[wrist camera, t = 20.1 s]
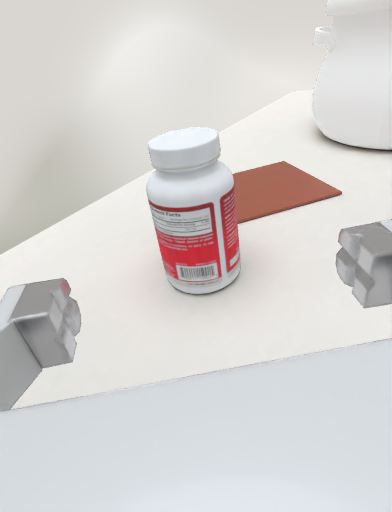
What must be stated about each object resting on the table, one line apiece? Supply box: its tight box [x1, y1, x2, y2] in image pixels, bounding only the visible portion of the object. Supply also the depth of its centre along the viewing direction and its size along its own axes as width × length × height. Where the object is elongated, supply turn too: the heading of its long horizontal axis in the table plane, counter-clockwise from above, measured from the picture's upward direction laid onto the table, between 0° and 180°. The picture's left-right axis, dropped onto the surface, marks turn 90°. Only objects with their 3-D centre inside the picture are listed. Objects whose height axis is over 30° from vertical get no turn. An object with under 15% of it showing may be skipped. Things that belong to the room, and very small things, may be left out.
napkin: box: [232, 161, 342, 223], centre depth 40 cm, size 14×12×1 cm
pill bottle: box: [146, 127, 240, 294], centre depth 25 cm, size 6×6×11 cm
